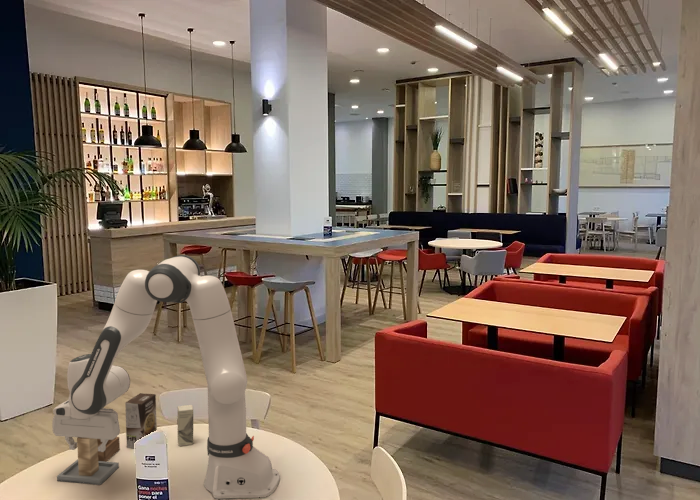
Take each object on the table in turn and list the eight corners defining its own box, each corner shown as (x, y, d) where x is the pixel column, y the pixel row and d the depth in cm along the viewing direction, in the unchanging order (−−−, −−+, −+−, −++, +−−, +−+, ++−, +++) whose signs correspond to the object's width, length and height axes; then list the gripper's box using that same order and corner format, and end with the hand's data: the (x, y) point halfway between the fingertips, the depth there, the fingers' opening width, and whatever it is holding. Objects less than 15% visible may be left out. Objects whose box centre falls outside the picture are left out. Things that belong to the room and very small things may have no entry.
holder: (119, 449, 181) (119, 437, 180) (105, 462, 173) (105, 448, 172) (97, 447, 182) (96, 435, 181) (82, 460, 174) (81, 447, 173)
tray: (118, 467, 169) (118, 462, 169) (100, 484, 160) (100, 479, 159) (77, 463, 171) (77, 459, 171) (57, 481, 161) (56, 476, 161)
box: (178, 446, 183) (177, 411, 181) (177, 441, 187) (176, 406, 185) (194, 444, 185) (193, 408, 183) (193, 438, 189) (192, 403, 187)
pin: (98, 469, 167) (97, 433, 165) (91, 476, 163) (89, 439, 162) (86, 468, 167) (85, 432, 166) (78, 475, 164) (76, 438, 162)
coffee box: (143, 449, 181) (141, 404, 179) (126, 447, 182) (124, 402, 180) (157, 437, 190) (156, 393, 188) (141, 435, 191) (139, 392, 189)
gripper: (123, 404, 164) (124, 447, 166) (61, 400, 167) (64, 442, 169) (111, 413, 158) (113, 457, 160) (47, 409, 161) (50, 452, 163)
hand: (87, 450), depth 164 cm, fingers open, 8 cm apart
